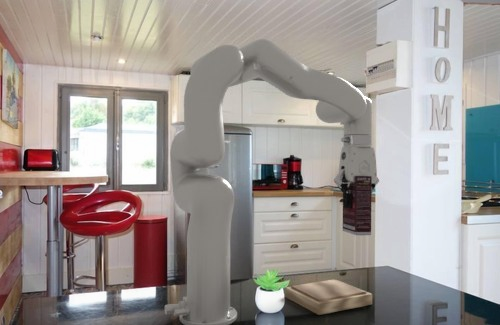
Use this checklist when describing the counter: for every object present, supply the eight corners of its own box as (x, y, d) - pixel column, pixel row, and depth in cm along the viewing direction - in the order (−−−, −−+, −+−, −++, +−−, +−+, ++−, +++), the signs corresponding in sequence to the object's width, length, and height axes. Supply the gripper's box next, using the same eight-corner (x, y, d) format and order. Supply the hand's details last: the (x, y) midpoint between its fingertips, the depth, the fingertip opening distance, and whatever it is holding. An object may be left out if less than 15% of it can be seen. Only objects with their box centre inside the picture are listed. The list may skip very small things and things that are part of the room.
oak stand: (318, 314, 92) (318, 301, 92) (285, 297, 104) (285, 285, 104) (372, 304, 99) (372, 291, 99) (335, 288, 111) (335, 277, 112)
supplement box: (372, 235, 109) (372, 175, 109) (355, 235, 108) (355, 175, 108) (357, 230, 117) (357, 175, 117) (341, 230, 116) (342, 175, 116)
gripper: (341, 140, 106) (340, 210, 105) (390, 143, 113) (390, 208, 113) (323, 141, 112) (323, 207, 112) (371, 144, 120) (370, 205, 120)
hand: (356, 207), depth 112 cm, fingers closed on supplement box, 5 cm apart
